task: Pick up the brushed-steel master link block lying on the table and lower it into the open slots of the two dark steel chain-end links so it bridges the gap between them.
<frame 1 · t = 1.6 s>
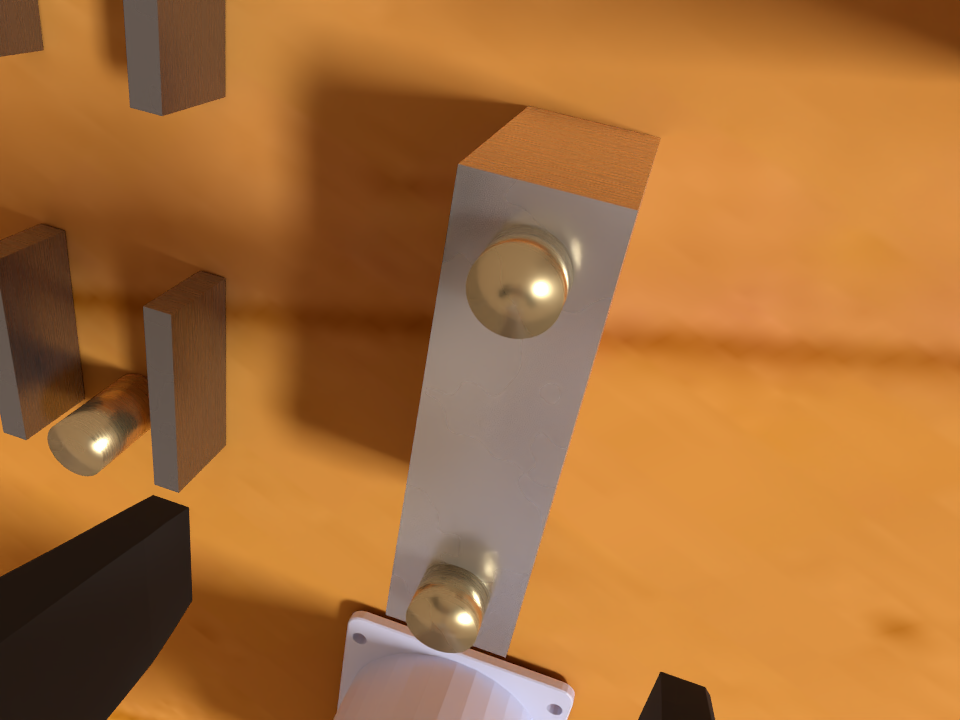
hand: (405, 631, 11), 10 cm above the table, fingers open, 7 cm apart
end link 2: (137, 339, 23), on the table
master link: (541, 333, 20), on the table
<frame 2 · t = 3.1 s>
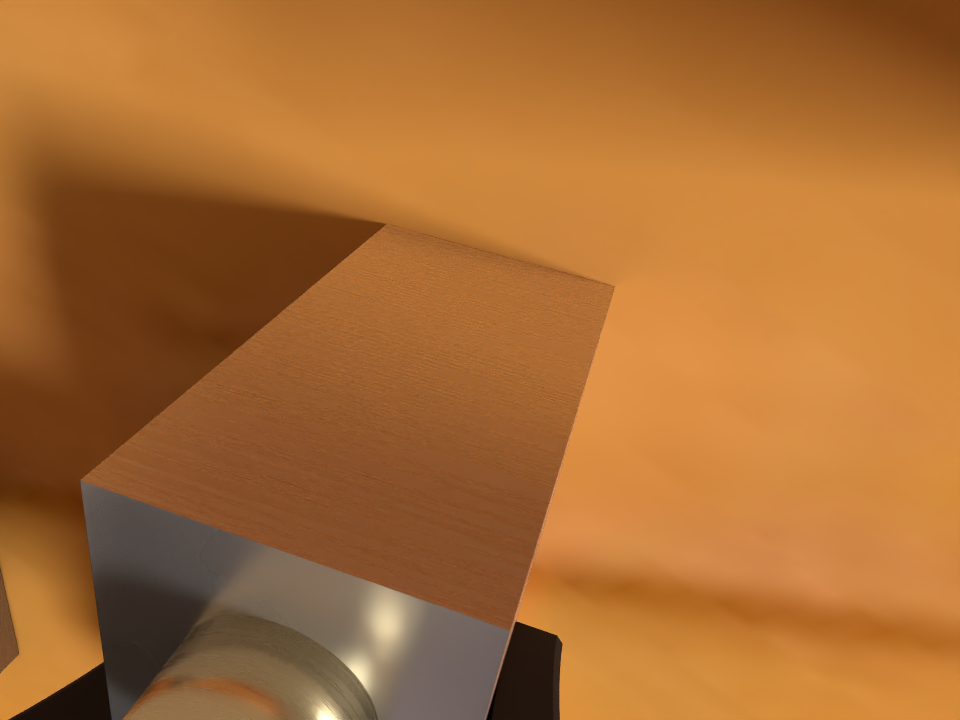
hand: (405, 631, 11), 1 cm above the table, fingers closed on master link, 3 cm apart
master link: (436, 563, 12), on the table, touching gripper
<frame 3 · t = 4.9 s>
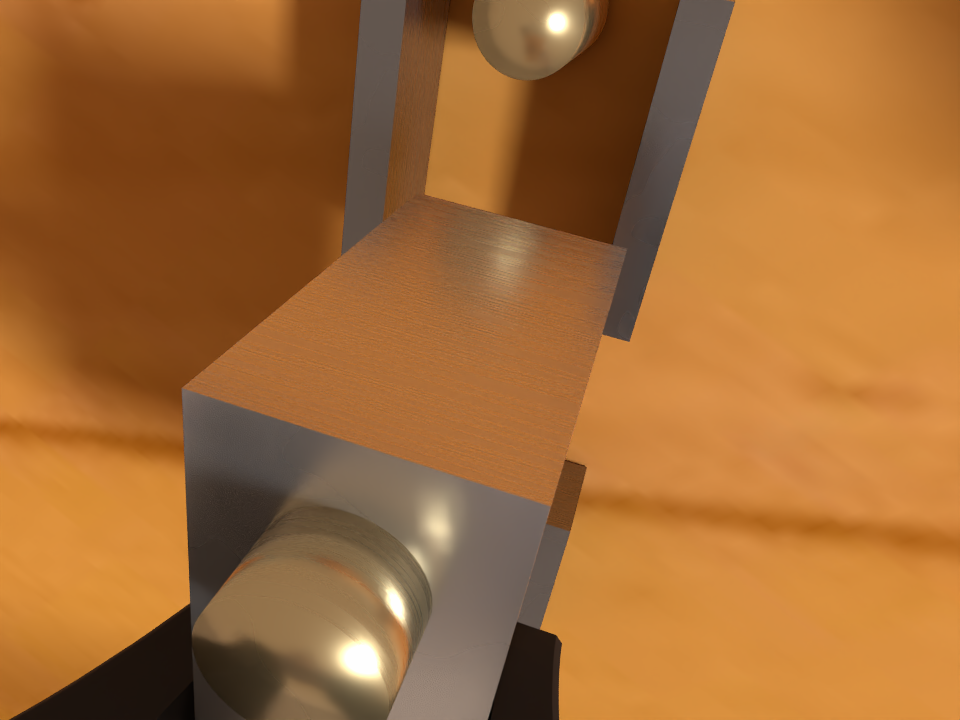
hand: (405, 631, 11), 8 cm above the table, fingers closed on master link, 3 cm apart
end link 2: (457, 517, 21), on the table
end link 1: (537, 123, 16), on the table
master link: (457, 515, 13), point 6 cm above the table, touching gripper
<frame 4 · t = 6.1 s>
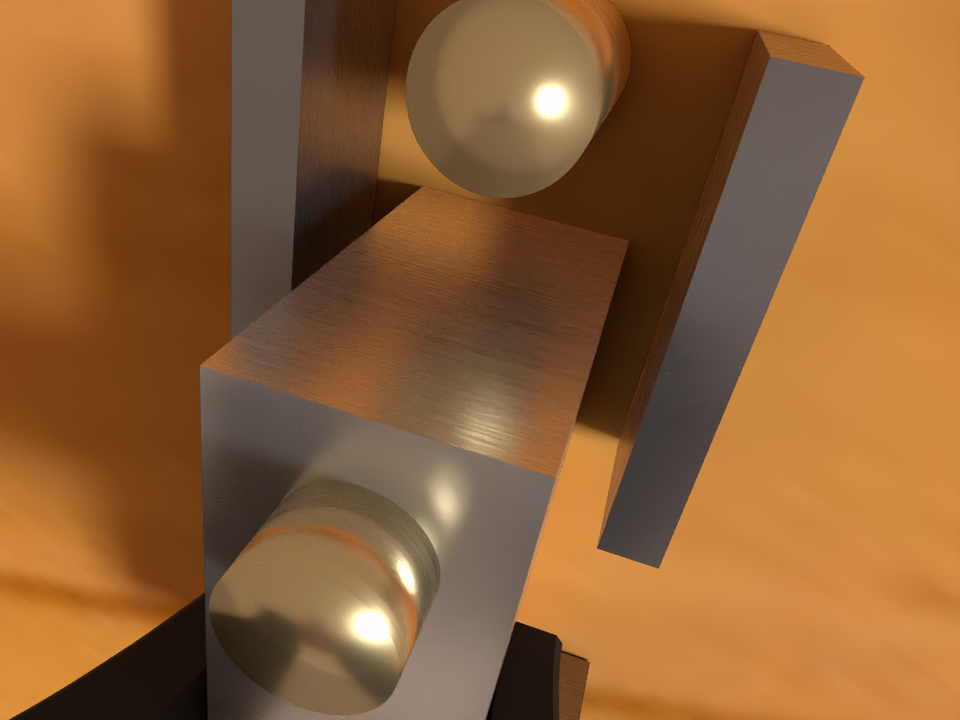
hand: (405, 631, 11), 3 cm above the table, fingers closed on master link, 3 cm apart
end link 2: (419, 703, 16), on the table
end link 1: (522, 224, 11), on the table
master link: (462, 504, 13), on the table, touching gripper
when the fingers open (3 cm above the table, at t = 6.8 s): master link stays where it is, on the table.
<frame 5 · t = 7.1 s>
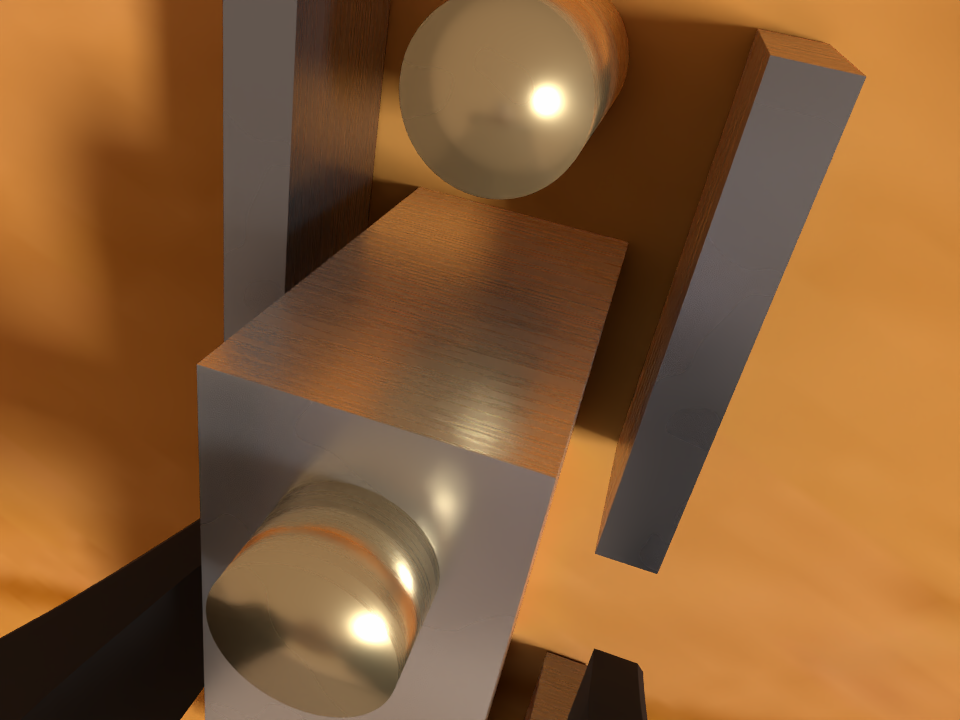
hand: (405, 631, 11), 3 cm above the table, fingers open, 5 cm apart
end link 2: (416, 707, 16), on the table
end link 1: (519, 225, 10), on the table
master link: (461, 504, 13), on the table
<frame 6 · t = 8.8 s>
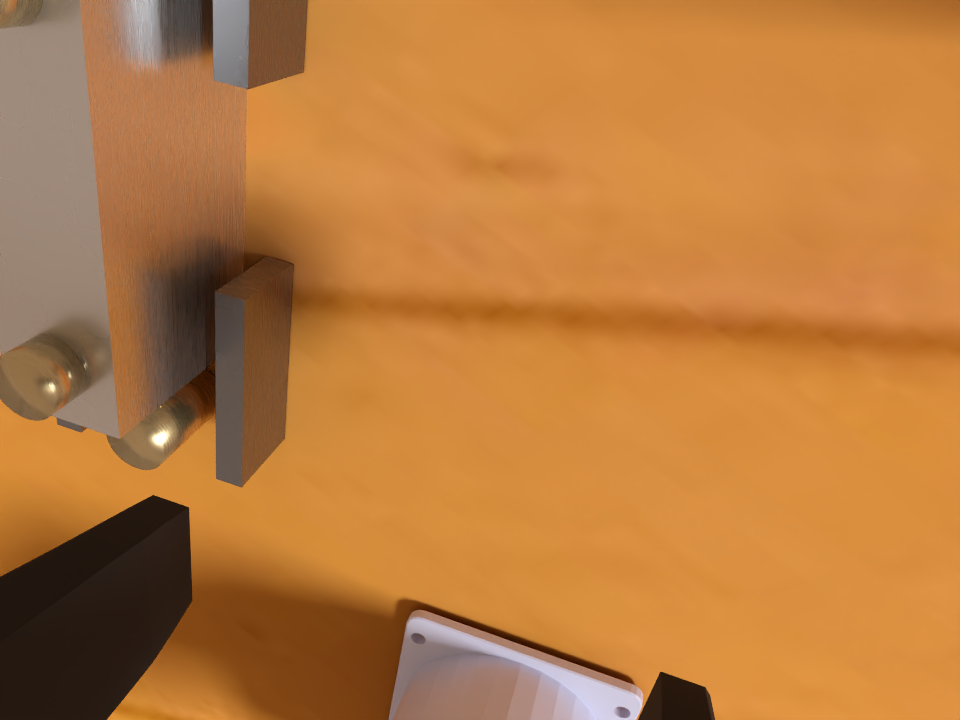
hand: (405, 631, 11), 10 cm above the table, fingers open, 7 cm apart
end link 2: (196, 328, 22), on the table
master link: (196, 138, 20), on the table
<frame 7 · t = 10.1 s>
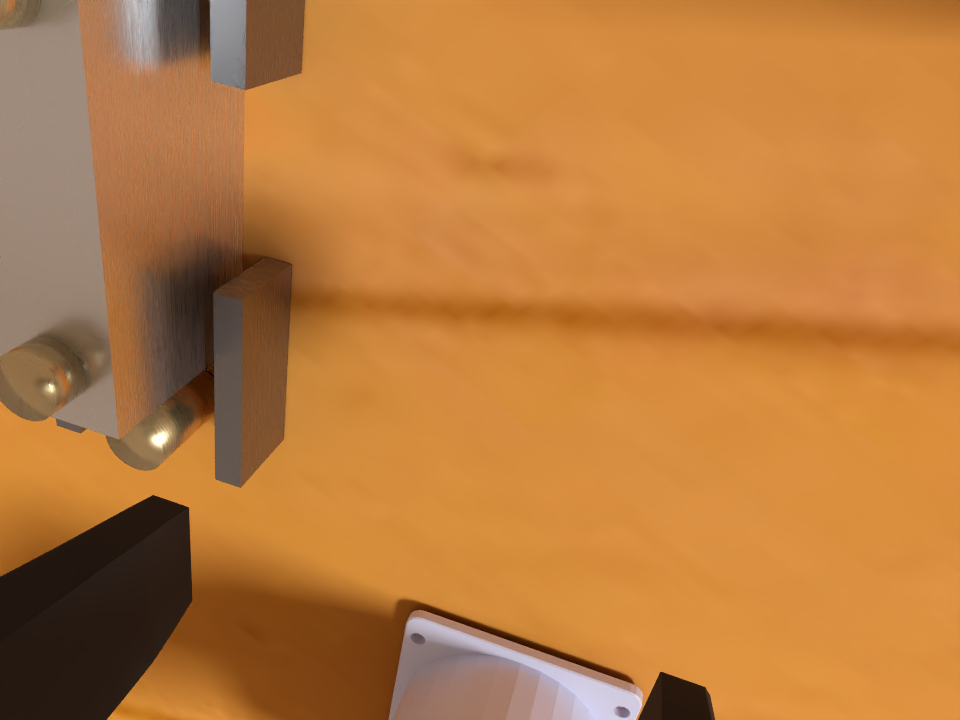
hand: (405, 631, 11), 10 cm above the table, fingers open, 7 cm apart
end link 2: (195, 329, 22), on the table
master link: (194, 139, 20), on the table
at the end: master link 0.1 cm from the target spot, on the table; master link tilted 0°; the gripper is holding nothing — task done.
